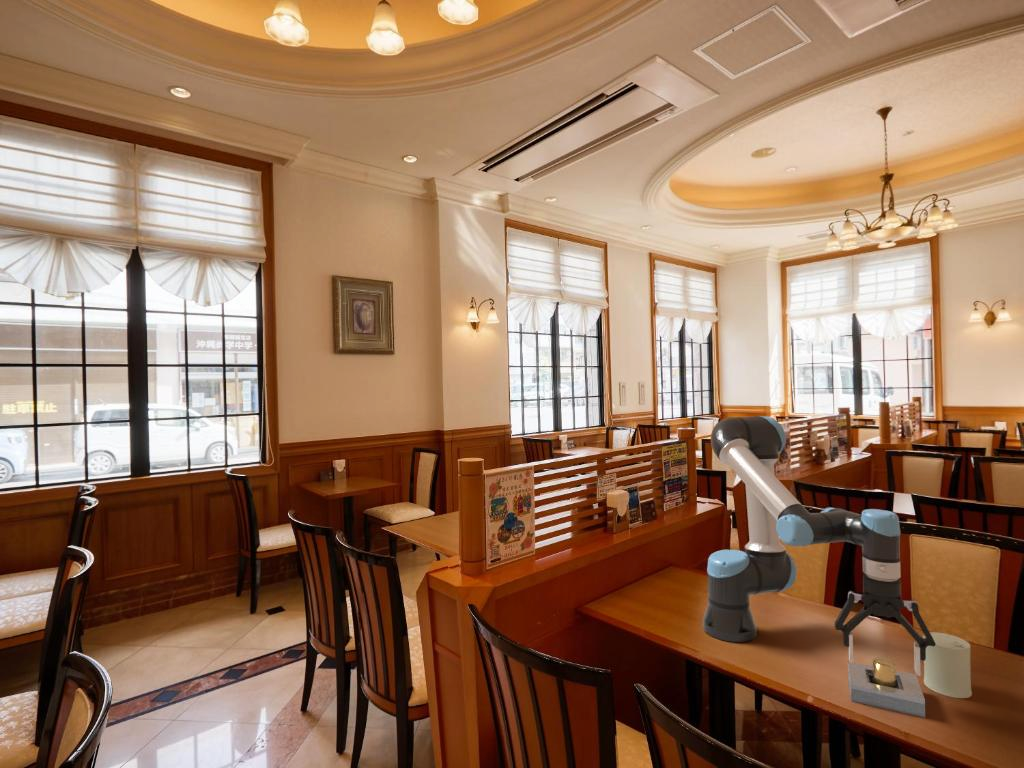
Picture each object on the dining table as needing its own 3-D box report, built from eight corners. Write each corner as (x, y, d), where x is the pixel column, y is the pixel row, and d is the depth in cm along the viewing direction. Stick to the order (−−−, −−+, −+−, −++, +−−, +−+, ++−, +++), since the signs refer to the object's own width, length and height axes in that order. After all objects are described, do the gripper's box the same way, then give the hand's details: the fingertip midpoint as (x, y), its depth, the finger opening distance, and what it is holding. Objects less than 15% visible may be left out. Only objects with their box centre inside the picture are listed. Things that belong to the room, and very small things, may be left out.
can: (957, 702, 126) (956, 650, 126) (915, 682, 135) (914, 634, 135) (980, 692, 130) (979, 642, 130) (937, 674, 138) (936, 627, 138)
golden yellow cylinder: (874, 698, 128) (874, 664, 128) (872, 689, 132) (871, 656, 132) (897, 703, 126) (896, 668, 126) (894, 693, 130) (893, 660, 130)
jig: (851, 701, 127) (850, 684, 127) (848, 676, 138) (847, 661, 138) (925, 717, 121) (924, 699, 121) (916, 690, 131) (915, 674, 131)
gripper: (822, 573, 132) (824, 661, 132) (950, 590, 120) (952, 686, 120) (822, 564, 139) (823, 648, 138) (942, 579, 127) (944, 671, 127)
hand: (883, 666), depth 129 cm, fingers open, 12 cm apart
